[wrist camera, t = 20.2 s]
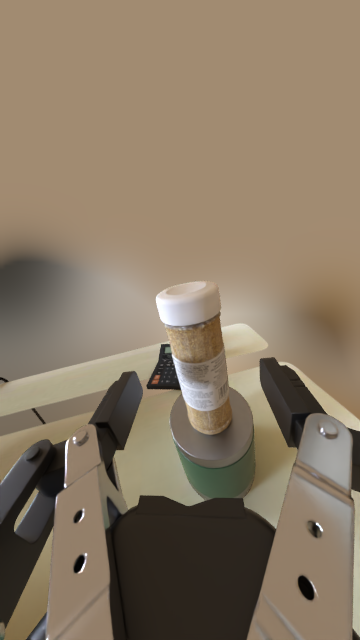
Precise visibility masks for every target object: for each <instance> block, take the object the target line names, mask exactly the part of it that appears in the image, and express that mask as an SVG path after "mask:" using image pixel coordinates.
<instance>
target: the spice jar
mask: <svg viewBox="0 0 360 640" xmlns="http://www.w3.org/2000/svg"><path fill="white" fill-rule="evenodd" d="M156 303H157V307H158V311H159V315H160V318H161V321H162V322H164V325H165V327H166V331H167V334H168V338H169V341H170V346H171V351H172V357H173V361H174V364H175V368H176V372H177V376H178V379H179V383H180V387H181V390H182V394H183V397H184V400H185V402H186V406H187V410H188V417H189V421H190V423H191V424H192V426H193V427H194V428H195V429H196V430H198V431H199V432H201V433H204V434H208V435H213V434H217V433H220V432H222V431H224V430H225V429H226V428H227V427H228V425H229V424H230V421H231V419H232V409H231V406H230V400H229V385H228V375H227V367H226V358H225V349H224V343H223V339H222V332H221V326H220V318H219V317H220V309H221V303H220V295H219V290H218V286H217V285H216V284H215V283H213V282H209V281H196V282H188V283H184V284H180V285H176V286H173V287H170V288H167V289H165V290H163V291H162V292H160V293H159V294H158V295H157V297H156Z"/></svg>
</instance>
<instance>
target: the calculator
mask: <svg viewBox="0 0 360 640" xmlns="http://www.w3.org/2000/svg"><path fill="white" fill-rule="evenodd" d="M147 389H176V390H181V387H180V383H179V379H178V376H177V372H176V368H175V364H174V361H173V357H172V351H171V346H170V344H161V348H160V354H159V361H158V363H157V365H156V367H155V369H154V371H153V373H152V375H151V378H150V380H149V382H148V384H147Z"/></svg>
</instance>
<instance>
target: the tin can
mask: <svg viewBox="0 0 360 640" xmlns="http://www.w3.org/2000/svg"><path fill="white" fill-rule="evenodd" d="M229 400H230V406H231V409H232V419H231V421H230V424H229V425H228V427H227V428H226V429H225V430H224V431H222V432H220V433H217V434H213V435H208V434H204V433H201V432H199V431H198V430H196V429H195V428H194V427H193V426H192V424H191V423H190V421H189V417H188V410H187V406H186V402H185V400H184V397H183V394H181V395H180V396H179V397H178V398H177V400H176V401H175V403H174V405H173V407H172V410H171V414H170V428H171V432H172V435H173V439H174V442H175V445H176V448H177V451H178V454H179V457H180V459H181V462H182V465H183V468H184V471H185V473H186V476H187V478H188V480H189V482H190V484H191V486H192V487H193V489H194V490H195V491H196V492H197V493H198V494H199V495H200V496H201V497H202V498H204V499H205V500H210V499H213V498H243V497H244V496H245V495H246V494H247V492H248V491H249V489H250V487H251V485H252V483H253V479H254V474H255V442H254V424H253V416H252V412H251V409H250V407H249V405H248V403H247V401H246V400H245V399H244V398H243V396H242V395H241V394H240V393H238V392H237V391H236V390H234V389H233V388H231V387H229Z"/></svg>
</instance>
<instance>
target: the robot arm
mask: <svg viewBox="0 0 360 640" xmlns="http://www.w3.org/2000/svg"><path fill="white" fill-rule="evenodd" d="M0 380H2V381H4V382H5V383H6V382H9V381H8V380H7V379H5V378H1V377H0ZM260 382H261V386H262V389H263V391H264V393H265V396H266V398H267V400H268V402H269V405H270V407H271V409H272V411H273V414H274V416H275V418H276V420H277V423H278V425H279V427H280V429H281V432H282V434H283V436H284V438H285V441H286V443H287V445H288V447H296V448H297V450H298V453H297V457H296V460H295V463H294V464H293V468H292V471H291V475H290V479H289V483H288V487H287V490H286V494H285V498H284V502H283V506H282V510H281V514H280V517H279V521H278V525H277V529H275V528H274V526H272V525H271V524H270V523H269V522H268V521H267V520H266V519H264V518H263V517H262V516H260V515H259V514H257V513H256V512H254V511H252V510H250V509H248V508H245V507H244V503H243V498H213V499H210V500H207V501H204V502H201V503H198V504H195V505H193V506H185V505H183V504H181V503H178V502H176V501H174V500H171V499H169V498H167V497H164V496H141V495H140V498H139V503H138V505H137V506H135V507H133V508H131V509H129V510H128V507H127V504H126V502H125V500H124V497H123V494H122V489H121V485H120V480H119V476H118V471H117V467H116V462H115V458H114V454H115V451H116V450H124V447H125V444H126V442H127V439H128V436H129V433H130V430H131V427H132V424H133V422H134V419H135V416H136V413H137V410H138V407H139V404H140V402H141V399H142V394H143V390H142V386H141V384H140V381H139V378H138V376H137V373H136V372H135V371H130V372H123V373H122V375H121V377H120V378H119V380H118V381H115V382H114V383H113V384H112V385H111V386H110V388H109V389H108V391H107V393H106V395H105V396H104V398H103V400H102V401H101V403H100V404H99V406H98V408H97V410H96V411H95V413H94V415H93V416H92V418H91V420H90V421H89V423H88V424H87V425H84V426H82V427H80V428H79V429H77V430H76V431H75V432H74V433H73V434H72V435H71V436H70V438H69V439H68V440H66V441H63V442H60V443H58V444H55V445H53V444H52V443H51V442H50V441H49V440H41V441H39V442H37V443H35V444H34V445H32V446H31V447H30V448H29V449H27V450H26V451H25V452H24V453H23V455H22V456H21V457H20V458H19V460H18V461H17V462H16V464H15V465H14V466H13V467H12V469H11V470H10V471H9V473H8V474H7V475H6V477H5V478H4V479H3V480H2V482H1V483H0V640H4V637H5V629H6V627H7V624H8V622H9V620H10V618H11V616H12V614H13V612H14V609H15V607H16V605H17V603H18V601H19V599H20V597H21V594H22V592H23V590H24V588H25V586H26V584H27V582H28V579H29V577H30V575H31V573H32V571H33V569H34V567H35V565H36V562H37V560H38V558H39V556H40V554H41V552H42V550H43V547H44V545H45V543H46V541H47V539H48V537H49V535H50V532H51V530H52V528H53V526H54V528H53V542H52V555H51V569H50V582H49V596H48V610H47V612H46V614H45V615H44V616H43V618H42V619H41V620H40V622H39V623H38V624H37V626H36V627H35V628H34V630H33V631H32V632H31V634H30V635H29V636H28V638H27V639H26V640H360V637H359V636H358V635H357V633H356V632H355V631H354V629H353V628H352V622H353V569H354V517H355V508H354V500H353V498H352V497H351V489H352V490H355V491H358V492H360V431H356V430H353V429H350V428H347V427H346V426H345V425H344V424H343V423H341V422H340V421H339V420H337V419H335V418H334V417H331V416H329V415H328V414H327V413H326V412H325V411H324V410H323V408H322V407H321V406H320V404H319V403H318V402H317V400H316V399H315V398H314V396H313V395H312V394H311V392H310V391H309V390H308V388H307V387H306V386H305V384H304V383H303V382H302V380H300V378H299V376H298V375H297V374H296V372H295V371H294V370H292V369H291V368H289V367H288V366H286V365H284V366H280V365H279V364H278V362H277V361H276V359H275V358H274V357H272V358H263V359H260ZM31 409H32V411H33V412H34V413H35V414H36V415H37V417H38V418H39V419H40V421H41V422H42V423H43V425H44V424H46V423H45V421H44V420H43V419H42V417H41V416H40V415H39V414H38V412H37V411H36V409H35V408H31ZM35 488H36V489H37V490H39V492H38V494H37V495H36V497H35V499H34V500H33V502H32V504H31V505H30V507H29V509H28V511H27V512H26V514H25V516H24V517H23V519H22V521H21V522H20V524H19V526H18V527H17V529H16V531H15V532H14V524H15V521H16V519H17V517H18V515H19V513H20V512H21V510H22V509H23V507H24V505H25V504H26V502H27V500H28V499H29V497H30V496H31V494H32V492H33V491H34V489H35Z"/></svg>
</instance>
